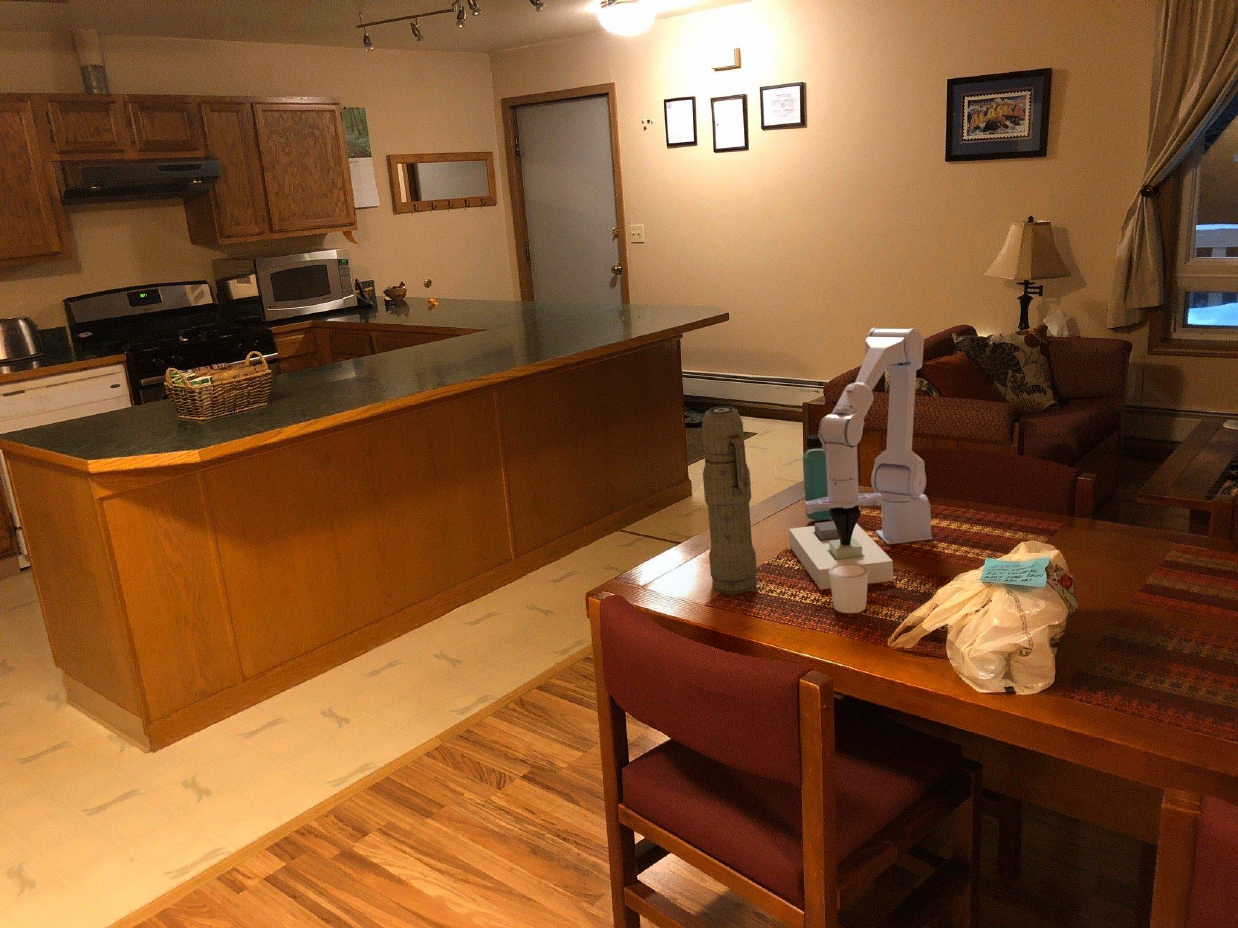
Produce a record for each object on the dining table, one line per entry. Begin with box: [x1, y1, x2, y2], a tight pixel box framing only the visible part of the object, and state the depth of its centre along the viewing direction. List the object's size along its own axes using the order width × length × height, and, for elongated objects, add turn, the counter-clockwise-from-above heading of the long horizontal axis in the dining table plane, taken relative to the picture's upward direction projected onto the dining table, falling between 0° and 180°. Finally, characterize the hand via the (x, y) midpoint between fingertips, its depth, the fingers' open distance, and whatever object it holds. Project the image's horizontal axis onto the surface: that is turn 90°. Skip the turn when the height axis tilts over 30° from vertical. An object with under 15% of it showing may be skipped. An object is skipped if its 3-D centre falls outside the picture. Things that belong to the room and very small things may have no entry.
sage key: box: [829, 538, 862, 560], centre depth 189 cm, size 5×5×3 cm
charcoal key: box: [814, 520, 840, 541], centre depth 199 cm, size 5×5×3 cm
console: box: [788, 523, 894, 590], centre depth 195 cm, size 14×24×4 cm, turn 4°
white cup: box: [829, 564, 868, 614], centre depth 174 cm, size 7×7×7 cm
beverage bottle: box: [802, 434, 832, 521], centre depth 217 cm, size 6×7×20 cm
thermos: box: [701, 406, 758, 595], centre depth 185 cm, size 9×12×35 cm
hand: (845, 544), depth 188 cm, fingers closed, pressing on sage key
